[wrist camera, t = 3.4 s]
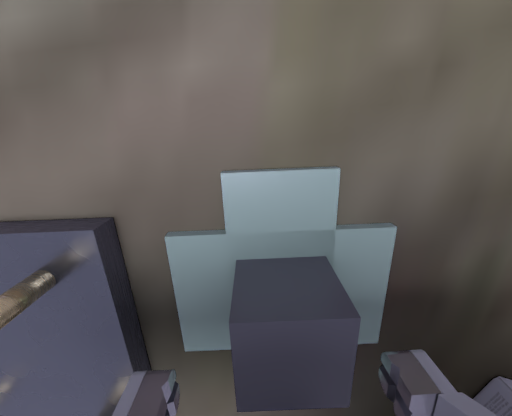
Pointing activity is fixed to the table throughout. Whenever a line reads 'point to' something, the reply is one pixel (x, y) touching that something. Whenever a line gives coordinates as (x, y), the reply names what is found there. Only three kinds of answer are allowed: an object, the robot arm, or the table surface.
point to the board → (276, 233)
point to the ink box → (497, 396)
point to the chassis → (65, 319)
